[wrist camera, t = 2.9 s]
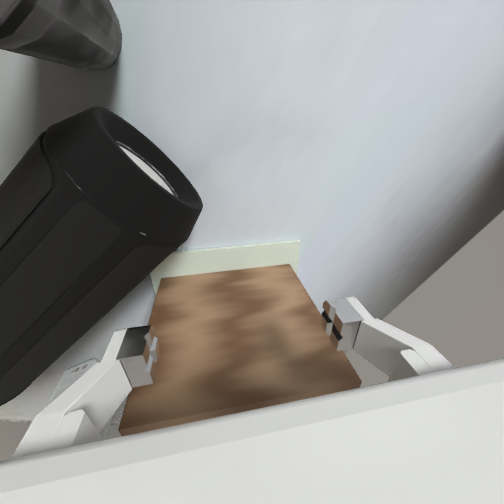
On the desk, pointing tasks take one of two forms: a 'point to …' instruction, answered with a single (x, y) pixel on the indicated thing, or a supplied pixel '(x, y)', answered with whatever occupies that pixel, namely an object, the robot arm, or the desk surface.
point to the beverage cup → (62, 31)
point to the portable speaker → (81, 235)
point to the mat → (226, 259)
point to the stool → (234, 349)
